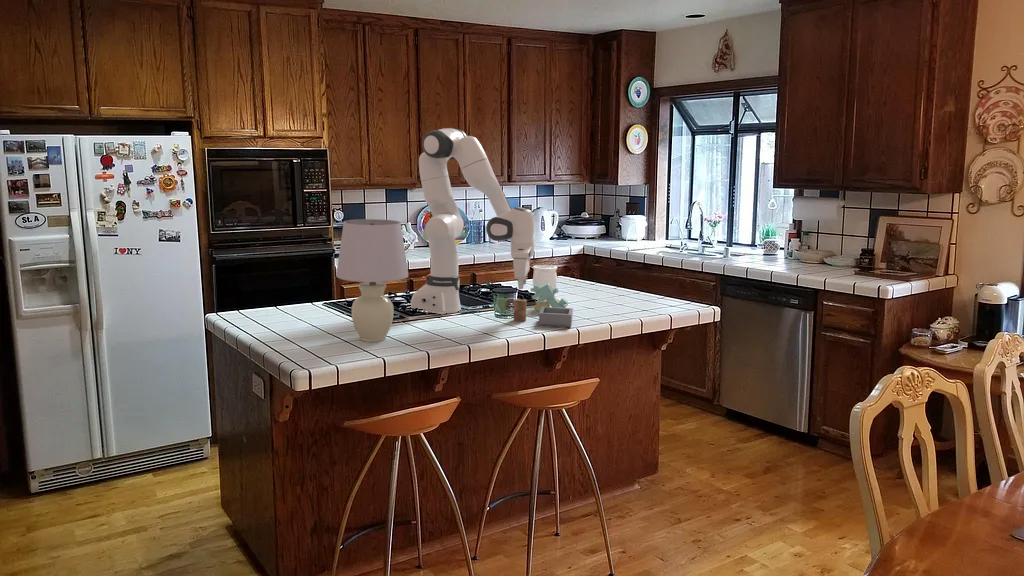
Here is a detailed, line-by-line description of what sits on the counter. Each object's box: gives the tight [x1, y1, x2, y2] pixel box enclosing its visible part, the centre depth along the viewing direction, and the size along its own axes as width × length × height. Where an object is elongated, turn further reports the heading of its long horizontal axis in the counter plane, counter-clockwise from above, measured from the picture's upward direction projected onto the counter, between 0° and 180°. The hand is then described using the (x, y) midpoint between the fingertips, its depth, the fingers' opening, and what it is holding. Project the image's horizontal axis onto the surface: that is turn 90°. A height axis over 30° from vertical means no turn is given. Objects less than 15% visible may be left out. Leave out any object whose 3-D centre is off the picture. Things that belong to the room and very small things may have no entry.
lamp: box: [335, 218, 409, 343], centre depth 263 cm, size 24×24×40 cm
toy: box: [530, 282, 570, 312], centre depth 319 cm, size 10×14×15 cm
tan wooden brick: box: [513, 298, 528, 322], centre depth 300 cm, size 4×2×8 cm, turn 83°
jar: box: [532, 264, 558, 302], centre depth 338 cm, size 11×10×15 cm
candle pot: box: [538, 306, 574, 328], centre depth 296 cm, size 12×12×5 cm
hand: (522, 286), depth 298 cm, fingers open, 8 cm apart
